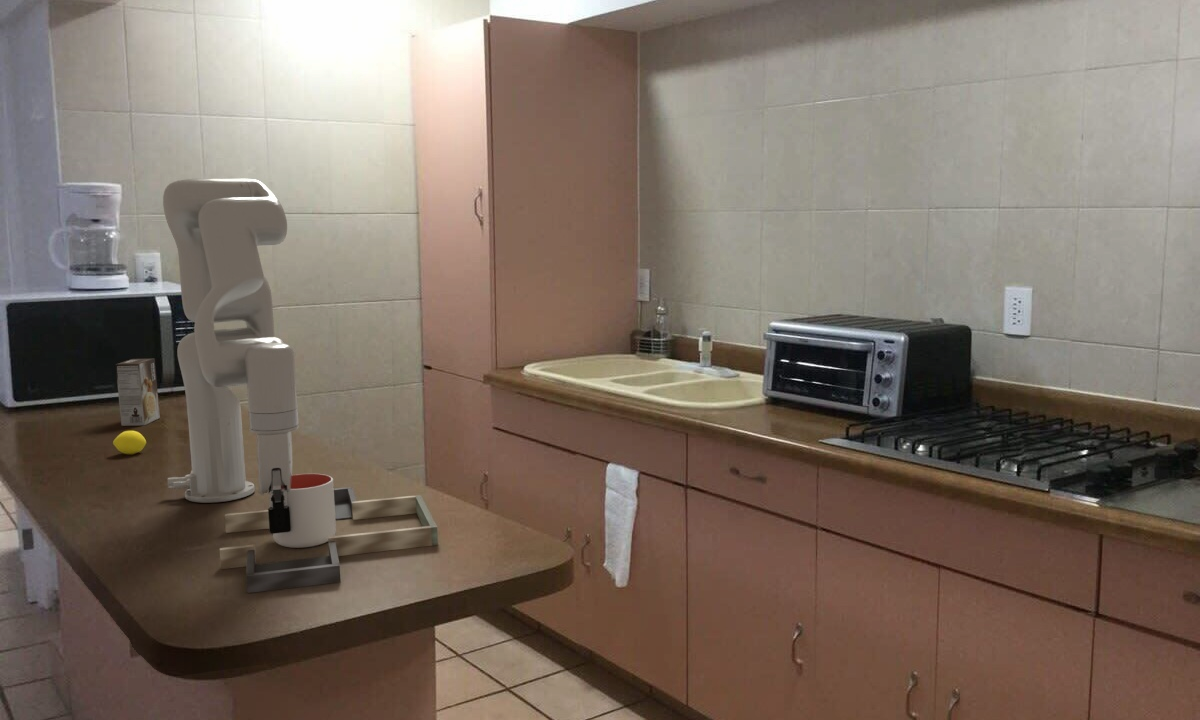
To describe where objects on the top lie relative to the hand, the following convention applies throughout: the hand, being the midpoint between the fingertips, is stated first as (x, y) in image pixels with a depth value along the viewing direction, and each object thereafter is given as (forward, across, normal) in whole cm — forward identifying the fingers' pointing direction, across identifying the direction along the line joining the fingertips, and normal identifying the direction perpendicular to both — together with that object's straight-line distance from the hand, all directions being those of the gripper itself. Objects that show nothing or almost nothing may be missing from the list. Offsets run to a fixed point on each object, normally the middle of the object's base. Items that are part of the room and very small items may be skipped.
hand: (280, 523), depth 172 cm
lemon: (+4, -78, -33) cm, 85 cm away
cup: (+4, 0, +4) cm, 5 cm away
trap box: (+3, 0, +8) cm, 8 cm away
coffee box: (+4, -116, -36) cm, 122 cm away
